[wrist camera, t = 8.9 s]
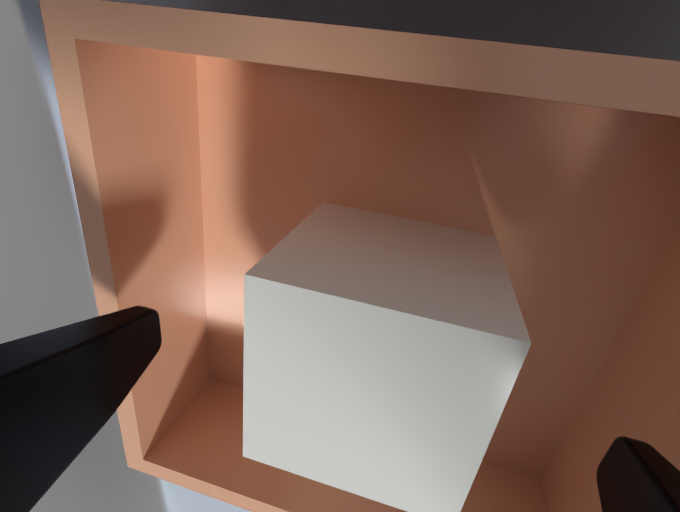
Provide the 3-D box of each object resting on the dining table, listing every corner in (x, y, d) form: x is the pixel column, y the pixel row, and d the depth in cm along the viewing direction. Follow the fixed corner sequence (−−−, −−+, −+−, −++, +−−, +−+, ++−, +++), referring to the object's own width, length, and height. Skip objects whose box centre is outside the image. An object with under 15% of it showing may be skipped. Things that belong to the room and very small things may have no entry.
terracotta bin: (767, 95, 7) (1056, 100, 4) (551, 482, 13) (591, 634, 9) (185, 28, 10) (37, -7, 6) (203, 377, 15) (127, 466, 11)
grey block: (495, 235, 9) (530, 343, 5) (451, 373, 11) (453, 527, 7) (323, 202, 10) (244, 274, 6) (309, 335, 12) (242, 456, 8)
